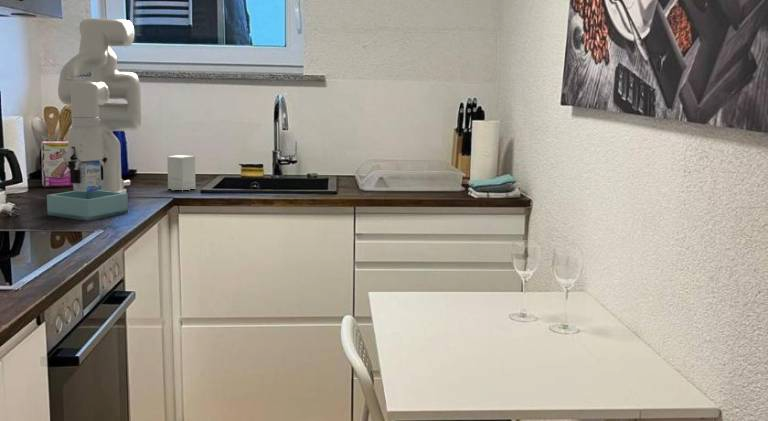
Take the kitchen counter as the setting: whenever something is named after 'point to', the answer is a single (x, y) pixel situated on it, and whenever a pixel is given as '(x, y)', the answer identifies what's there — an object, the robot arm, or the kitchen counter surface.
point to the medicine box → (89, 177)
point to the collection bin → (87, 204)
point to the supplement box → (181, 172)
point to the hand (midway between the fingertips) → (87, 181)
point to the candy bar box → (54, 164)
